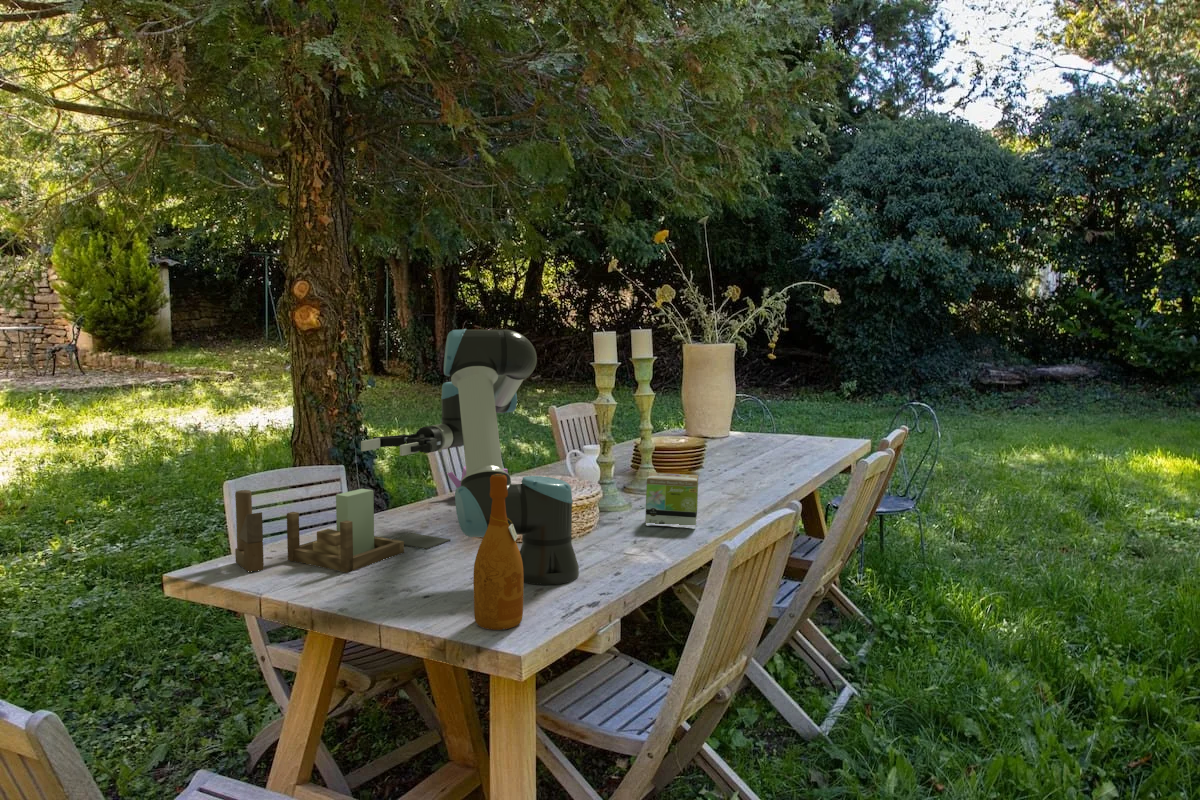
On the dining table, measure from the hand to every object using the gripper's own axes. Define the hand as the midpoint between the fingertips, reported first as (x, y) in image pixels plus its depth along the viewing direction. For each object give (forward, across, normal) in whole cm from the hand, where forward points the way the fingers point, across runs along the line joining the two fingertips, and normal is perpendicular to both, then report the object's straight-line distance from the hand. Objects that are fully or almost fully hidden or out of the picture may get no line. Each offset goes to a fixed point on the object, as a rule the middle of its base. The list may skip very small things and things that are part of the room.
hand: (381, 448), depth 216 cm
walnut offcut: (+18, 0, -21) cm, 28 cm away
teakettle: (-61, +14, -27) cm, 68 cm away
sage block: (+10, 0, -26) cm, 28 cm away
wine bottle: (+32, -60, -26) cm, 73 cm away
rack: (+13, 0, -26) cm, 29 cm away
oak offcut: (+18, 0, -24) cm, 30 cm away
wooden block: (+31, +14, -26) cm, 43 cm away
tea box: (-60, -58, -26) cm, 88 cm away
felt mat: (-7, -6, -26) cm, 28 cm away
